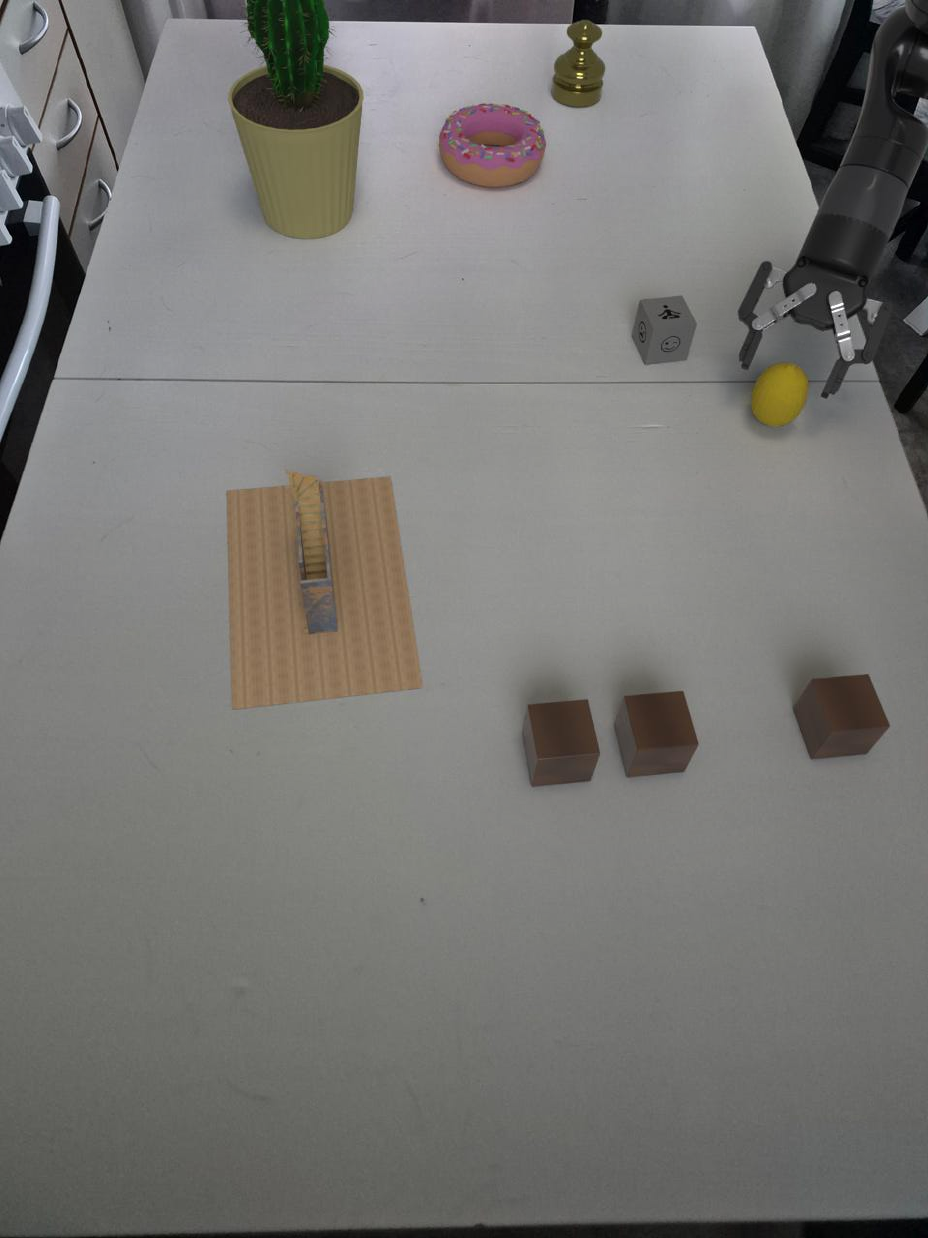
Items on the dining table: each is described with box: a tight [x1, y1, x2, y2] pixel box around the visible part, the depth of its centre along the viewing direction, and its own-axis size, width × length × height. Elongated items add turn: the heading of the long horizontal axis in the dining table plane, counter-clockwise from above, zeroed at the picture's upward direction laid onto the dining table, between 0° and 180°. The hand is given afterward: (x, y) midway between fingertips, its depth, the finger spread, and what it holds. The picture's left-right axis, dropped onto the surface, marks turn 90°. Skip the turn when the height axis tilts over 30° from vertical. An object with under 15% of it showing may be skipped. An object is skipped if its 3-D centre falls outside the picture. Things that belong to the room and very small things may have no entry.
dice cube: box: [631, 295, 698, 366], centre depth 109 cm, size 5×5×5 cm
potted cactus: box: [227, 0, 365, 240], centre depth 110 cm, size 15×15×30 cm
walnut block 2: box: [613, 690, 700, 778], centre depth 79 cm, size 5×5×5 cm
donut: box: [438, 102, 547, 188], centre depth 129 cm, size 14×14×5 cm
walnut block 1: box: [521, 698, 601, 788], centre depth 79 cm, size 5×5×5 cm
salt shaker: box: [551, 19, 606, 108], centre depth 138 cm, size 7×7×10 cm
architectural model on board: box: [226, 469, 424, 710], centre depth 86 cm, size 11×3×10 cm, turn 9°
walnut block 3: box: [792, 673, 891, 760], centre depth 81 cm, size 5×5×5 cm
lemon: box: [750, 361, 810, 427], centre depth 101 cm, size 6×6×8 cm
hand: (784, 382), depth 100 cm, fingers open, 8 cm apart
